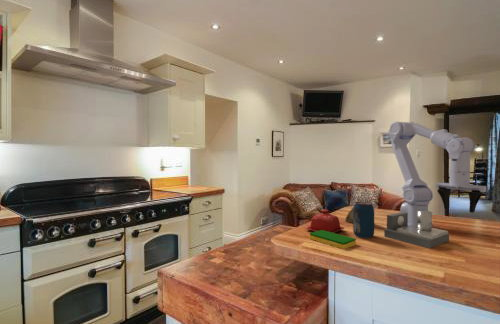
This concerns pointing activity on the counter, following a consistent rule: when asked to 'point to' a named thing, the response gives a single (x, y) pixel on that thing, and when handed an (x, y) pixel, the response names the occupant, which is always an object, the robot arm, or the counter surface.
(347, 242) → the dish sponge
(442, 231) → the scale pan
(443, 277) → the counter surface
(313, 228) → the butter dish
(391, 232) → the scale
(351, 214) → the rock
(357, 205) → the soda can
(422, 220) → the steel weight
